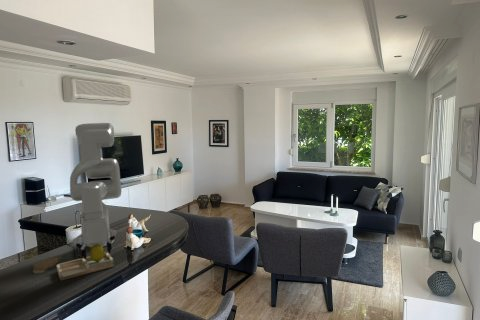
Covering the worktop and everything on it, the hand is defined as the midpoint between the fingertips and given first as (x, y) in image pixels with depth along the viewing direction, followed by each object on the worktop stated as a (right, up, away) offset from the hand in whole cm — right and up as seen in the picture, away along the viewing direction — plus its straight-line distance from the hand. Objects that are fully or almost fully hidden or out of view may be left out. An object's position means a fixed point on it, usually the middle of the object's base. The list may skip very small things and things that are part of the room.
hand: (97, 254), depth 142 cm
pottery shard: (-23, -6, +3) cm, 24 cm away
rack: (-4, -5, -2) cm, 7 cm away
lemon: (0, -4, 0) cm, 4 cm away
